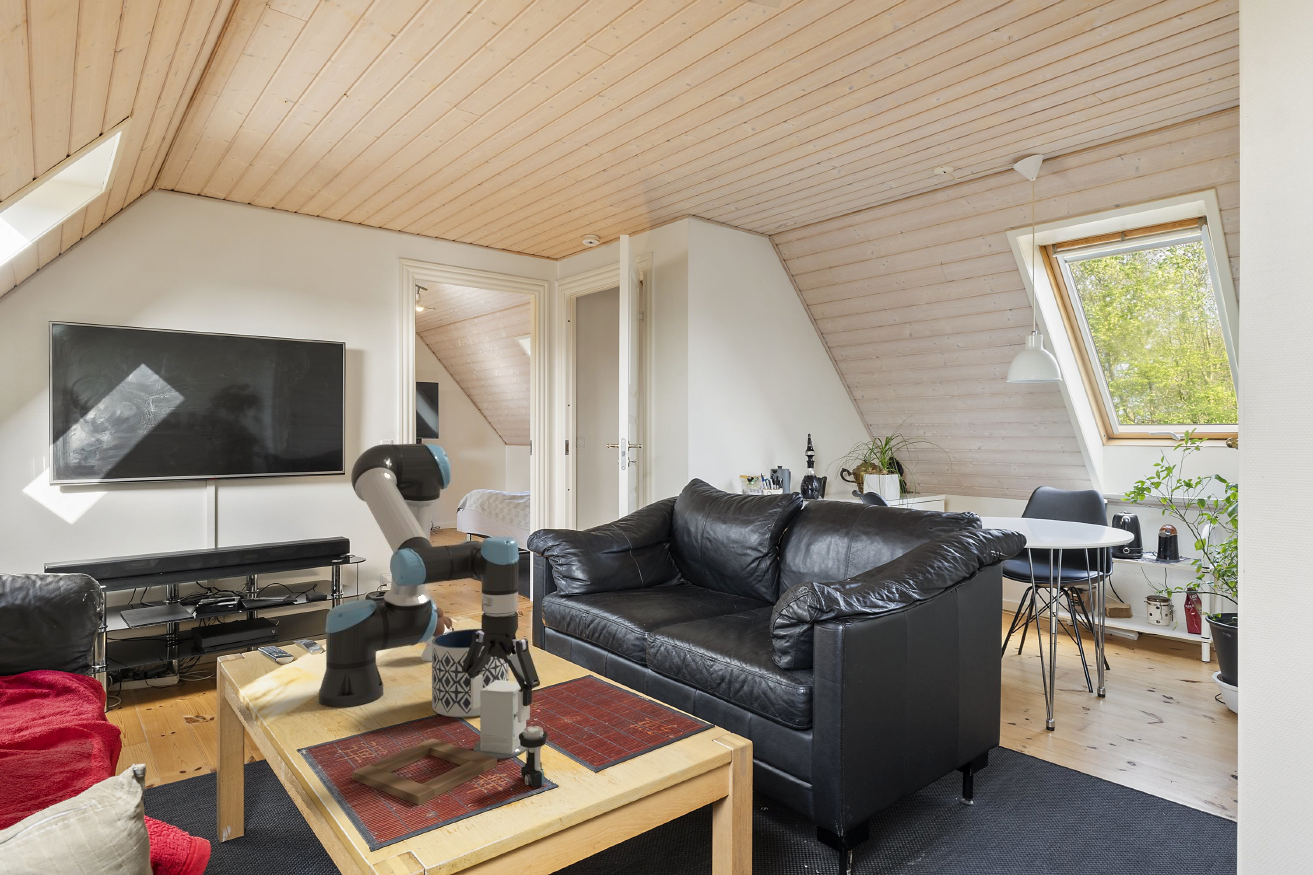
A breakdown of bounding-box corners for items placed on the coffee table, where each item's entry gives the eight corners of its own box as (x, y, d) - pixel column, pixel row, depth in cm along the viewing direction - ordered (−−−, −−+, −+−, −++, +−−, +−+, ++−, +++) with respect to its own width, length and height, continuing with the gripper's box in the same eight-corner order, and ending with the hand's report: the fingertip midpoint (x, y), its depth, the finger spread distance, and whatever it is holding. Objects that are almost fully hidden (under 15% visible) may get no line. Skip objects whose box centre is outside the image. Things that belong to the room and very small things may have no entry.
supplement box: (512, 755, 152) (512, 692, 152) (479, 751, 154) (478, 689, 154) (527, 740, 159) (527, 681, 160) (495, 737, 161) (495, 678, 161)
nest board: (352, 779, 143) (352, 771, 143) (432, 745, 159) (432, 738, 159) (418, 804, 133) (418, 796, 133) (497, 765, 149) (497, 758, 149)
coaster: (462, 751, 155) (462, 748, 155) (500, 734, 165) (500, 731, 165) (500, 764, 149) (500, 761, 149) (538, 745, 159) (538, 742, 159)
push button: (509, 780, 142) (509, 727, 142) (533, 771, 146) (533, 720, 146) (529, 792, 137) (528, 737, 137) (553, 783, 141) (553, 729, 141)
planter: (470, 724, 171) (469, 651, 171) (415, 709, 180) (415, 641, 181) (524, 700, 186) (524, 634, 186) (471, 688, 196) (471, 625, 196)
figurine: (429, 653, 229) (429, 603, 230) (458, 653, 228) (458, 604, 228) (414, 662, 220) (414, 610, 220) (445, 663, 218) (445, 611, 219)
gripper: (445, 607, 161) (444, 706, 161) (532, 624, 147) (531, 732, 147) (471, 601, 167) (471, 696, 167) (557, 616, 154) (557, 720, 154)
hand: (499, 713), depth 157 cm, fingers open, 13 cm apart
